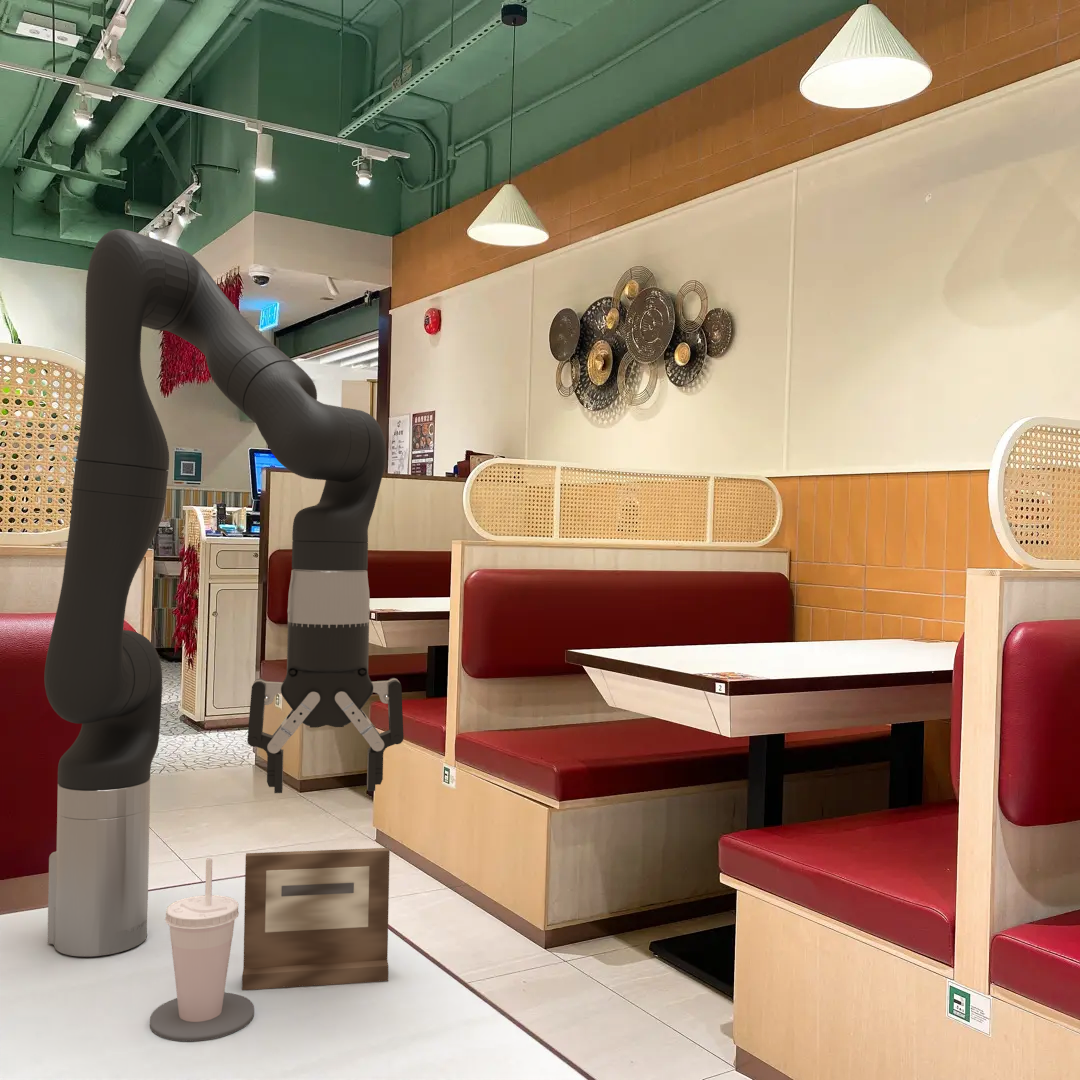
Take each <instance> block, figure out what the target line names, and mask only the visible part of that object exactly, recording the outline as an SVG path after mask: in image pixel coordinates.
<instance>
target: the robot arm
mask: <svg viewBox="0 0 1080 1080" xmlns="http://www.w3.org/2000/svg"><path fill="white" fill-rule="evenodd" d="M86 276H87V277H86V284H85V285H86V286H85V334H84V335H85V342H84V343H85V345H84V346H85V347H84V348H85V358H84V359H85V363H84V364H85V365H84V381H83V382H84V383H83V396H82V406H81V407H82V408H81V417H80V429H79V435H78V442H77V449H76V455H75V459H76V460H75V464H74V473H73V481H72V493H71V507H70V508H71V510H70V520H69V529H68V536H67V543H66V552H65V557H64V559H65V560H64V569H63V574H62V583H61V589H60V594H59V597H58V598H59V599H58V604H57V609H56V613H55V618H54V622H53V625H52V631H51V635H50V639H49V643H48V649H47V654H46V660H45V665H44V679H43V680H44V688H45V694H46V697H47V700H48V703H49V704H50V706H51V708H52V709H53V711H54V712H55V713H56V715H58V716H59V717H60V718H61V719H63V720H65V721H67V722H70V723H73V724H79V725H80V724H81V728H80V731H79V733H78V735H77V737H76V739H75V740H74V741H73V743H72V744H71V746H70V747H68V749H67V750H66V751H65V752H64V753H63V755H61V757H60V759H59V762H58V766H57V807H56V808H57V812H56V814H57V817H56V822H57V823H56V851H53V852H51V854H49V857H48V891H47V893H48V895H47V896H48V897H47V898H48V899H47V900H48V901H47V939H46V940H47V944H50V945H54V948H55V950H56V951H57V952H58V953H61V954H63V955H66V956H73V957H100V956H108V955H113V954H118V953H121V952H124V951H127V950H130V949H133V948H135V947H137V946H139V945H141V944H142V943H144V942H145V941H146V939H147V936H148V910H149V909H148V908H149V907H148V905H149V904H148V901H149V864H150V863H149V862H150V861H149V859H150V858H149V857H150V855H149V854H150V853H149V852H150V819H151V818H150V816H151V814H150V812H151V810H150V809H151V805H150V803H151V768H152V762H153V760H154V757H155V755H156V753H157V750H158V747H159V746H158V745H159V741H160V730H161V713H162V702H163V701H162V699H163V698H162V697H163V670H162V663H161V659H160V656H159V653H158V651H157V649H156V647H155V646H154V644H153V643H152V642H151V640H149V639H148V638H147V637H146V636H144V635H143V634H141V633H139V632H136V631H134V630H129V629H128V630H125V629H124V628H125V627H124V626H125V614H126V607H127V601H128V596H129V592H130V588H131V586H132V583H133V580H134V578H135V576H136V573H137V571H138V569H139V567H140V566H141V564H142V561H143V559H144V557H145V556H146V554H147V552H148V550H149V548H150V546H151V544H152V542H153V541H154V538H155V536H156V533H157V531H158V529H159V527H160V524H161V522H162V518H163V514H164V510H165V505H166V497H167V490H168V489H167V485H168V477H169V471H170V470H169V469H170V451H169V446H168V441H167V439H166V438H167V437H166V435H165V433H164V429H163V426H162V424H161V422H160V419H159V416H158V414H157V411H156V409H155V407H154V404H153V401H152V400H151V397H150V395H149V391H148V389H147V387H146V384H145V379H144V376H143V370H142V361H141V360H142V359H141V352H142V351H141V349H142V348H141V347H142V346H141V343H142V331H143V330H142V328H143V327H144V328H147V329H151V330H155V331H167V332H169V333H171V334H173V335H175V336H177V337H179V338H180V339H183V340H184V341H186V342H188V343H190V344H191V345H192V346H194V347H196V349H198V350H199V351H200V352H201V353H202V354H203V355H204V356H205V359H206V365H207V368H208V372H209V374H210V376H211V378H212V380H213V382H214V384H215V385H216V386H217V388H218V389H219V390H220V391H221V393H222V394H223V395H224V396H225V397H226V398H227V399H228V401H230V402H231V403H232V404H233V405H235V407H237V408H238V409H239V410H240V411H241V412H242V413H243V415H245V416H246V417H248V418H249V419H250V420H251V421H253V423H254V424H255V425H256V426H257V428H258V431H259V432H260V435H261V437H262V438H263V440H264V441H265V443H266V444H267V446H268V448H269V450H270V452H271V454H273V455H272V456H274V458H275V459H276V461H278V462H279V463H280V464H281V466H283V467H284V468H286V469H287V470H288V471H290V472H291V473H293V474H295V475H297V476H299V477H302V478H305V479H309V480H318V481H319V480H320V481H321V480H322V481H325V482H324V487H323V489H322V493H321V497H320V499H319V502H318V503H316V504H315V505H312V506H308V507H307V506H306V507H304V508H302V509H301V510H299V511H297V513H296V514H295V515H294V519H293V523H292V531H291V532H292V533H291V534H292V535H291V537H292V541H291V543H292V545H291V547H292V548H291V550H292V551H291V573H290V574H291V575H290V582H289V589H288V597H287V598H288V600H287V643H286V644H287V646H286V651H287V652H286V655H287V656H286V675H285V677H284V680H283V681H282V682H281V681H266V680H265V679H263V678H256V679H255V680H254V682H253V683H252V686H251V691H250V702H249V717H248V726H247V727H248V728H247V729H248V730H247V744H248V745H249V746H250V747H252V748H259V749H262V750H264V752H265V753H266V755H267V756H266V757H267V761H266V762H267V763H266V764H267V765H266V783H267V785H268V788H274V789H273V790H274V794H283V790H284V789H283V784H284V779H283V778H284V749H282V748H283V747H284V745H285V744H286V743H287V742H288V741H289V739H290V738H291V737H292V736H293V735H294V733H295V732H296V731H297V730H298V729H299V727H300V726H302V724H304V725H305V726H307V727H309V728H313V729H314V728H320V727H324V726H329V727H333V728H345V726H347V725H349V724H350V723H352V724H353V726H354V727H355V728H356V729H357V731H358V732H359V734H360V735H362V737H363V738H364V739H365V741H366V742H367V744H368V745H369V747H368V748H367V757H366V758H367V759H366V760H367V762H366V764H367V767H366V772H367V773H366V788H367V791H368V792H376V785H377V786H378V785H380V786H381V784H382V782H383V780H384V752H385V751H386V749H387V748H389V747H391V746H394V745H400V744H402V743H403V741H404V740H405V739H404V737H405V736H404V717H403V715H404V714H403V695H402V694H403V693H402V691H403V690H402V684H401V682H400V681H399V680H398V678H395V677H391V678H389V679H388V680H377V681H372V680H371V678H370V675H369V649H370V648H369V644H370V641H369V640H370V639H369V638H370V613H371V609H370V608H371V607H370V587H369V578H368V576H369V575H368V566H369V563H368V562H369V560H368V559H369V555H368V554H369V536H368V535H369V532H368V531H369V526H370V521H371V520H372V515H373V512H374V510H375V506H376V502H377V498H378V494H379V491H380V486H381V483H382V480H383V475H384V471H385V466H386V461H387V447H386V440H385V439H386V438H385V436H384V433H383V430H382V428H381V426H380V423H379V422H378V421H377V420H376V419H375V418H374V416H372V415H371V414H370V413H368V412H366V411H363V410H360V409H356V408H350V407H349V408H348V407H344V406H337V405H331V404H326V403H323V402H320V401H318V400H317V399H318V392H317V387H316V386H315V383H314V381H313V379H312V378H311V377H310V376H309V374H307V372H306V371H305V370H304V369H303V368H302V367H301V366H299V365H298V363H296V362H295V361H294V360H292V359H291V358H290V357H289V356H288V355H287V354H285V353H284V352H283V351H282V350H281V349H279V348H278V347H277V346H276V345H275V344H273V343H272V342H271V341H269V339H267V338H266V337H265V336H264V335H263V334H262V333H260V332H259V330H257V329H256V328H255V327H254V326H253V325H252V324H251V323H250V322H249V321H248V320H247V319H246V318H245V317H244V315H242V314H241V312H240V310H238V309H237V307H236V306H235V305H234V303H232V301H231V300H230V298H228V297H227V296H226V294H225V293H224V292H223V291H222V289H221V288H220V286H219V285H218V284H217V283H216V282H215V280H214V279H213V277H212V276H211V275H210V273H209V272H208V271H207V269H206V268H204V265H202V264H201V263H200V262H199V260H198V259H197V258H195V256H193V255H192V254H191V253H189V252H188V251H186V250H184V249H182V248H180V247H178V246H176V245H174V244H170V243H167V242H165V241H162V240H159V239H156V238H154V237H150V236H147V235H145V234H141V233H139V232H135V231H132V230H127V229H123V228H116V229H112V230H109V231H108V232H105V234H104V235H103V236H102V237H101V238H100V239H99V240H98V241H97V243H96V245H95V247H94V249H93V251H92V253H91V257H90V260H89V263H88V269H87V275H86ZM373 693H375V694H377V695H378V696H379V700H380V702H381V703H383V704H386V705H387V713H388V715H387V716H388V717H387V718H388V730H386V731H383V732H381V733H380V732H379V731H378V730H377V728H376V726H375V725H374V724H373V723H372V722H371V720H370V719H369V717H368V716H367V715H366V713H365V711H363V707H364V706H365V705H366V703H367V702H368V701H369V699H370V697H372V695H373ZM278 694H281V696H282V698H283V699H284V700H285V702H286V703H287V704H288V705H289V707H290V708H291V710H290V712H289V713H288V715H287V716H285V718H284V719H283V720H282V722H281V724H280V725H279V726H278V728H276V730H275V731H274V732H273V734H269V733H267V732H264V731H263V730H264V719H265V718H264V717H265V709H266V706H269V705H271V704H272V703H273V702H274V699H275V697H276V696H277V695H278Z"/></svg>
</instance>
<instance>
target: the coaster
mask: <svg viewBox="0 0 1080 1080" xmlns="http://www.w3.org/2000/svg"><path fill="white" fill-rule="evenodd" d="M254 1015H255V1006H254V1003H253V1002H252V1001H251V1000H250V999H249V998H247V997H246V996H243V995H241V994H237V993H232V992H228V991H227V992H226V991H224V998H223V1005H222V1012H221V1013H220V1015H218V1016H217V1017H215V1018H213V1019H210V1020H206V1021H201V1022H190V1021H185V1020H182V1019H181V1018H180V1017H179V1010H178V1000H177V997H176V998H173V999H171V1000H168V1001H166V1002H164V1003H162V1004H161V1005H159V1006H158V1007H157V1008H156V1009H154V1010H153V1012H152V1013H151V1014H150V1018H149V1027H150V1030H151V1031H152V1032H153V1033H154V1034H155V1035H156V1036H158V1037H161V1038H162V1039H166V1040H169V1041H170V1040H171V1041H175V1042H201V1041H202V1042H203V1041H204V1042H205V1041H209V1040H214V1039H219V1038H220V1039H221V1038H222V1037H226V1036H229V1035H232V1034H234V1033H236V1032H239V1031H241V1030H242V1029H244V1028H245V1027H247V1026H248V1025H249V1024H250V1023H251V1022H252V1021H253V1019H254ZM250 1021H251V1022H250Z"/></svg>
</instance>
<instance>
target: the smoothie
mask: <svg viewBox="0 0 1080 1080" xmlns="http://www.w3.org/2000/svg"><path fill="white" fill-rule="evenodd" d="M212 890H213V858H212V857H209V858H205V891H204V892H205V893H204V895H195V896H190V897H185V898H181V899H178V900H176V901H174V902H173V903H171V904H169V905H168V906H167V907H166V910H165V919H164V921H165V923H166V925H168V926H169V934H170V942H171V943H170V944H171V951H172V953H171V954H172V961H173V973H174V979H175V980H174V981H175V990H176V998H177V1000H178V1010H179V1017H180V1018H181V1019H182V1020H185V1021H190V1022H201V1021H206V1020H210V1019H213V1018H215V1017H217V1016H218V1015H220V1013H221V1012H222V1005H223V998H224V992H226V991H225V990H226V982H227V977H228V970H229V962H230V955H231V946H232V943H233V936H234V935H233V934H234V927H235V921H236V920H237V918H238V917H239V915H240V914H239V913H240V912H239V903H238V901H237V900H236V899H235V898H232V897H231V896H230V897H229V896H224V895H215V894H214V895H213V893H212V892H213V891H212Z"/></svg>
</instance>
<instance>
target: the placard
mask: <svg viewBox="0 0 1080 1080" xmlns="http://www.w3.org/2000/svg"><path fill="white" fill-rule="evenodd" d="M390 850H391V849H390V848H389V847H375V848H373V847H372V848H371V847H370V848H353V849H352V848H350V849H349V848H346V849H325V850H323V849H320V850H297V851H296V850H295V851H272V852H271V851H270V852H268V851H267V852H247V853H245V867H244V869H245V870H244V871H245V872H244V873H245V875H244V876H245V877H244V878H245V879H244V916H243V917H244V919H243V920H244V923H243V926H244V928H243V965H242V966H243V969H242V974H241V975H242V976H241V977H242V978H241V980H242V981H241V990H242V991H249V990H250V991H251V990H252V991H253V990H264V989H266V990H268V989H280V988H281V989H283V988H298V987H311V986H313V985H314V986H326V985H328V986H329V985H342V984H343V985H345V984H360V983H362V984H363V983H374V982H375V983H377V982H388V981H389V962H388V953H389V952H388V951H389V950H388V949H389V946H388V945H389V943H388V942H389V901H390V899H389V897H390V896H389V895H390V892H389V891H390V852H391V851H390ZM314 986H313V987H314Z"/></svg>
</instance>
